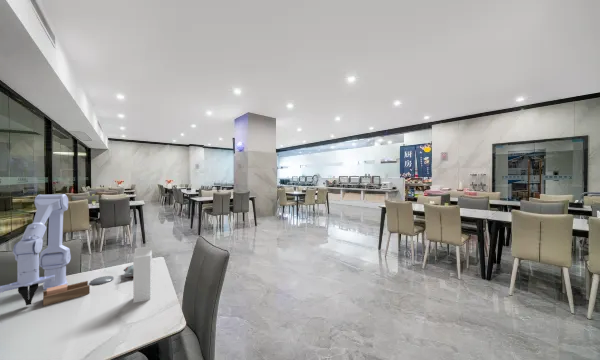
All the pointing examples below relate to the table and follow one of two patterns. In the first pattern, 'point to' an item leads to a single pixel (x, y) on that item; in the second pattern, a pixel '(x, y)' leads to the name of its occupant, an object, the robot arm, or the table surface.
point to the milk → (142, 274)
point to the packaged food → (128, 271)
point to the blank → (56, 289)
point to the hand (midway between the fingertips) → (28, 303)
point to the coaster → (101, 280)
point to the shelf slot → (67, 293)
